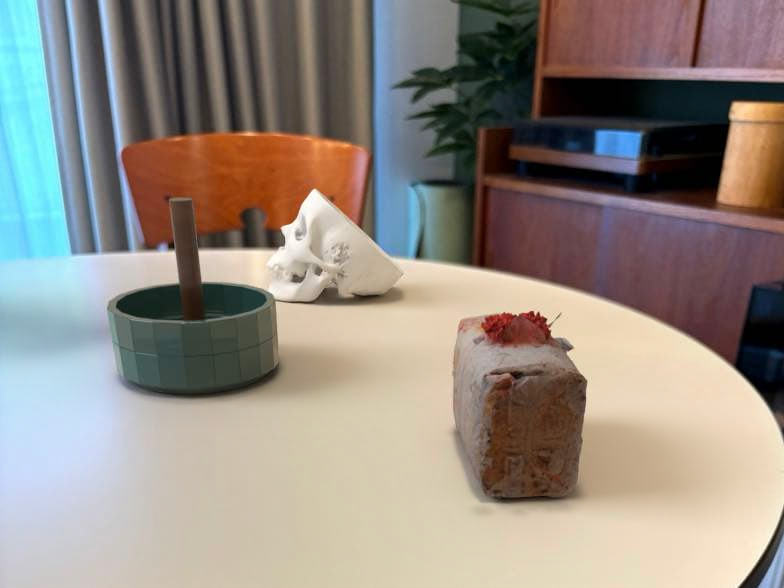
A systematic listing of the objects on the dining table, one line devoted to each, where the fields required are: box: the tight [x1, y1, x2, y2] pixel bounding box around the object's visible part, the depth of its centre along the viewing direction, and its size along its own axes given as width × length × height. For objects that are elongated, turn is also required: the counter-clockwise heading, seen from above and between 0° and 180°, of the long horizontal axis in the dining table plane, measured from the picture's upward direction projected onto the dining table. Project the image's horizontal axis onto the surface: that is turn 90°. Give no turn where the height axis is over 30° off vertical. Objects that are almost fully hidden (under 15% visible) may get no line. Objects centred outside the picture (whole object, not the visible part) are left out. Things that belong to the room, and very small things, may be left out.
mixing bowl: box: [106, 281, 280, 395], centre depth 70 cm, size 13×13×6 cm
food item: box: [452, 310, 589, 500], centre depth 54 cm, size 14×8×10 cm, turn 5°
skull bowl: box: [266, 188, 405, 303], centre depth 93 cm, size 10×14×12 cm
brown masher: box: [168, 197, 206, 321], centre depth 67 cm, size 6×6×13 cm
